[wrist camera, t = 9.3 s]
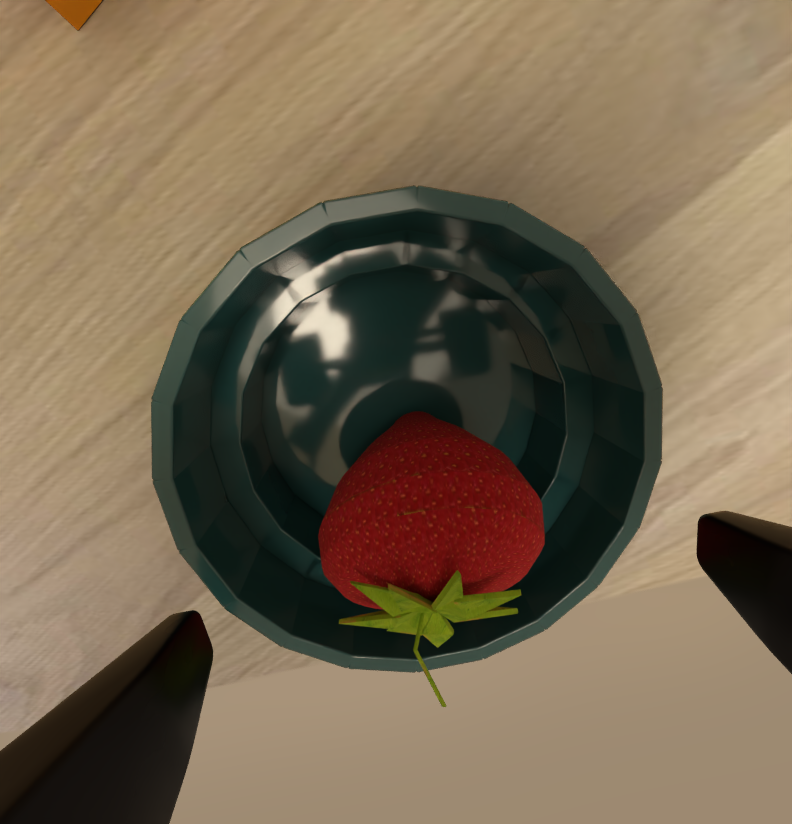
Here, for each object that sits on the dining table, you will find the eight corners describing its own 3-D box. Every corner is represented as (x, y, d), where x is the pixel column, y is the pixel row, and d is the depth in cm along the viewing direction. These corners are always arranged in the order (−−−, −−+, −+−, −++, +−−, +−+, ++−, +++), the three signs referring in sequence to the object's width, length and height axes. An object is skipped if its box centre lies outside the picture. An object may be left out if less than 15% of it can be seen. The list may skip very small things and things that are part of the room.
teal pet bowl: (571, 527, 21) (660, 626, 14) (276, 583, 20) (235, 708, 14) (553, 201, 16) (667, 141, 10) (181, 266, 16) (63, 245, 10)
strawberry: (515, 437, 18) (606, 703, 11) (363, 478, 20) (357, 732, 13) (487, 334, 15) (598, 640, 7) (303, 396, 16) (245, 693, 9)
